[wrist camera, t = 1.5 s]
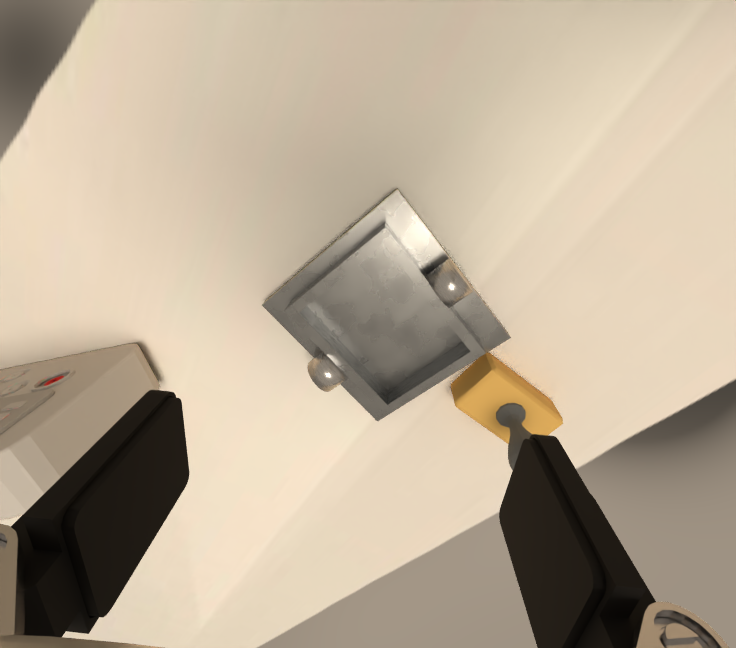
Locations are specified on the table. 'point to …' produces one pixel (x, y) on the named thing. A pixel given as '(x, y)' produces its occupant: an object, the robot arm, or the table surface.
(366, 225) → the grey metal square tray
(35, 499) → the grey control panel
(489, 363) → the rubber stamp
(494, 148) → the table surface
